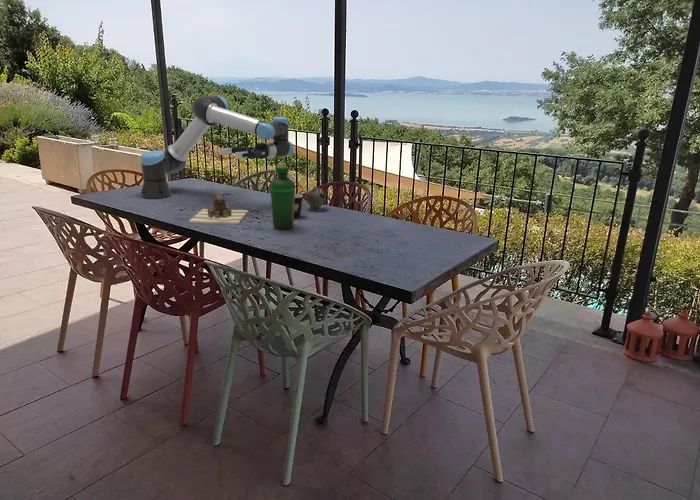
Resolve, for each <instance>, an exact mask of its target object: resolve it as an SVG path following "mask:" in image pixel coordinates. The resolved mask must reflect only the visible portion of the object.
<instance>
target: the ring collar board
mask: <svg viewBox="0 0 700 500" xmlns="http://www.w3.org/2000/svg"><path fill="white" fill-rule="evenodd" d="M226 209H227V210H225V211H222V214H223V216H222V217H220V211H215V216H214V213H213V206H211V208H210V207H208V208H202V209H201V210H200V211H198V213H196V214H195V215H194V216H192V217H191V219H189V220H188V223H189V224H209V225H211V224H212V225H215V224H216V225H240V223H241V222H242V221H243V220H244V219H245V217H246V216H247V215H248V213H249V210H248V209H232V208H231V207H230V206H226Z"/></svg>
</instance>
